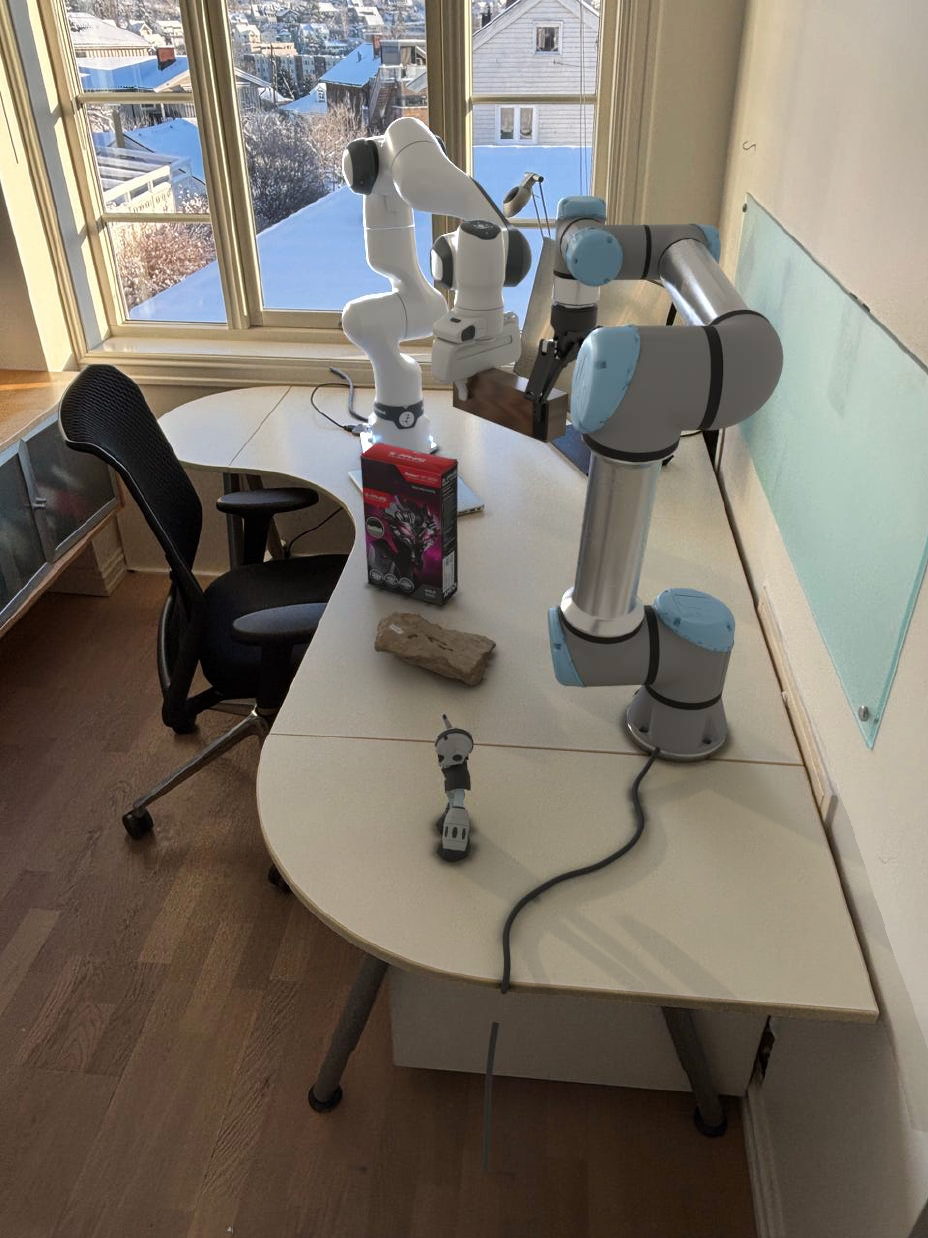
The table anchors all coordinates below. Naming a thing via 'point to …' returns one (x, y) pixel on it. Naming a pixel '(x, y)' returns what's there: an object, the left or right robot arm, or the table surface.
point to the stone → (434, 646)
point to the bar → (510, 403)
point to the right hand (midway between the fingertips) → (565, 427)
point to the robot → (454, 790)
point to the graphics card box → (411, 521)
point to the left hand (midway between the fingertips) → (477, 394)
